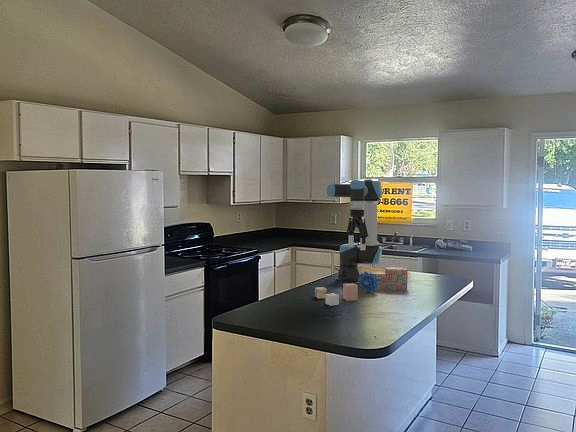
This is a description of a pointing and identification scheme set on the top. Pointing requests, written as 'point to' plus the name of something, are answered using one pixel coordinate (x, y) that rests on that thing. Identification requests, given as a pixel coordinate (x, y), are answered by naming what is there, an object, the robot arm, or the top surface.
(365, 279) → the grapes
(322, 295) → the maple block
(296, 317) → the top surface
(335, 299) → the off-white plastic block
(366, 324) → the top surface
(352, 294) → the terracotta block
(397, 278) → the stack of blocks
